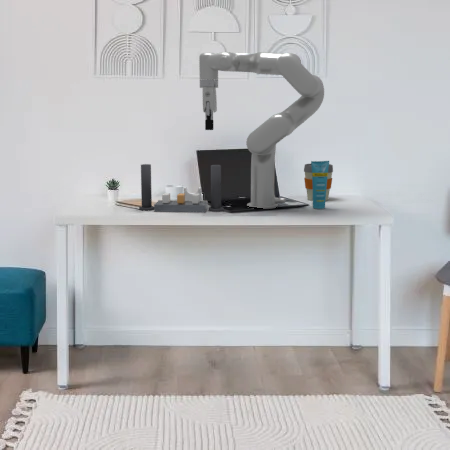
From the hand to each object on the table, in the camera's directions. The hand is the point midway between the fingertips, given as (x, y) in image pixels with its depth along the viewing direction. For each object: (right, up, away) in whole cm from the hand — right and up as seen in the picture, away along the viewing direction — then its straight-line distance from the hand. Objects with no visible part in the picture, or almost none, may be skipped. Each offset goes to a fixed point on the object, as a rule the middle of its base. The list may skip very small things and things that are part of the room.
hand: (209, 129), depth 315 cm
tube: (+44, -32, -3) cm, 55 cm away
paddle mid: (-11, -30, -7) cm, 33 cm away
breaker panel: (-11, -33, -7) cm, 35 cm away
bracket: (-7, -30, +11) cm, 33 cm away
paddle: (-5, -30, -8) cm, 31 cm away
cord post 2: (+3, -33, -8) cm, 34 cm away
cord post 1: (-25, -33, -5) cm, 42 cm away
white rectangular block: (-17, -30, -7) cm, 35 cm away
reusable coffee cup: (+47, -28, +20) cm, 58 cm away
